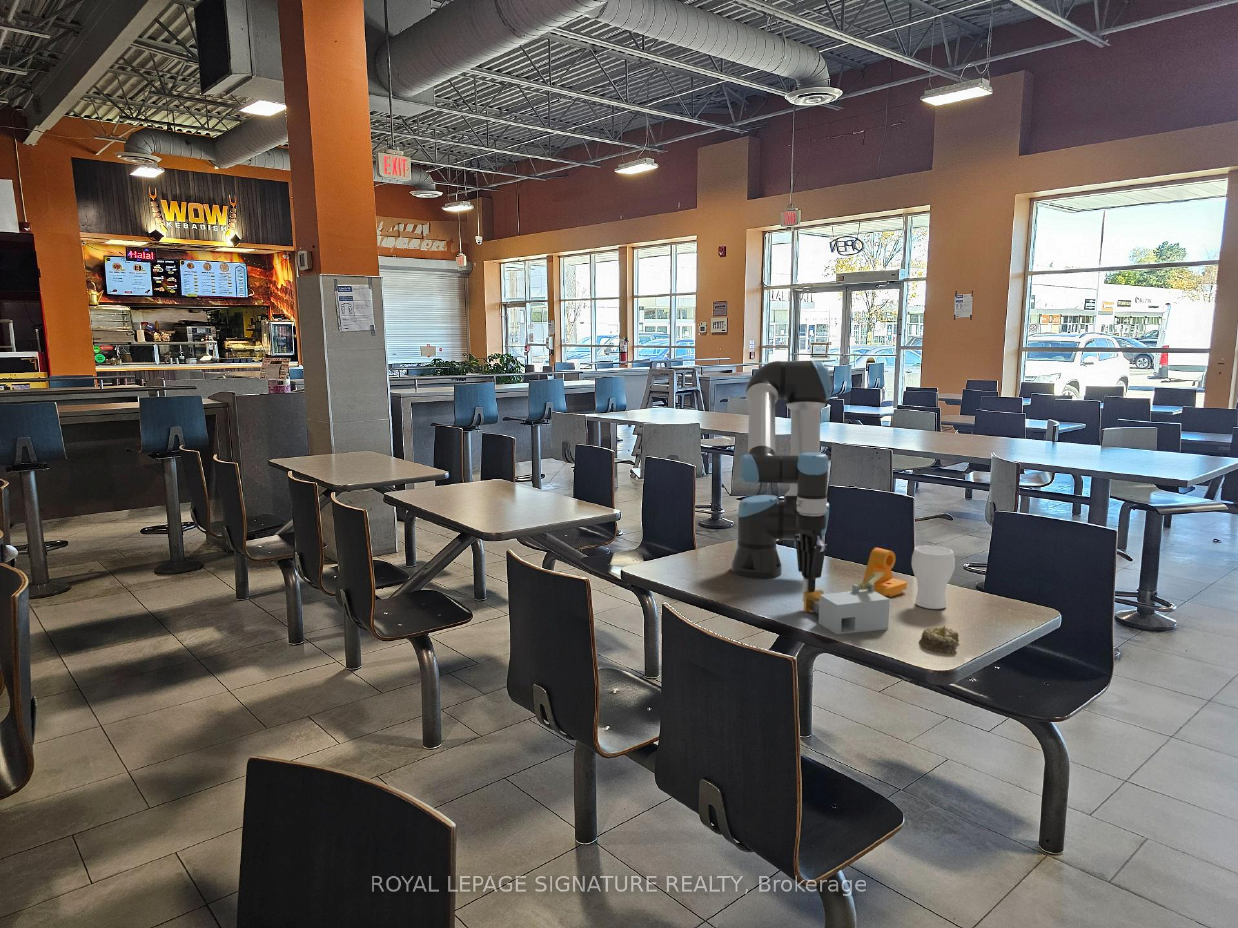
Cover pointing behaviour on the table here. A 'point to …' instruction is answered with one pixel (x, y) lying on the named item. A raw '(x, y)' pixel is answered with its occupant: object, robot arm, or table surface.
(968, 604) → the table surface
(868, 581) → the latch bar
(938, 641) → the olive green round lump
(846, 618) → the block
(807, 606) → the pin
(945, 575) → the cup
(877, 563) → the bracket
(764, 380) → the robot arm
